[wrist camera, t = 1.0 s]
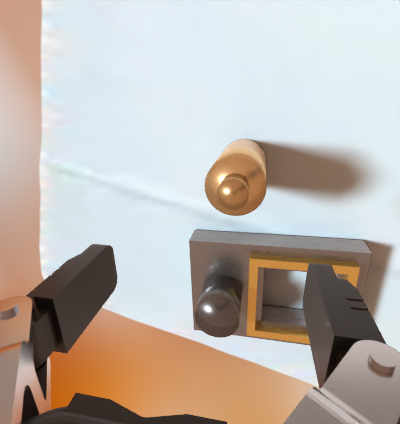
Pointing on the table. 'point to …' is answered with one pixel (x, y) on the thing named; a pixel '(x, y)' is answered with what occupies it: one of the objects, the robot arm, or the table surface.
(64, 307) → the robot arm
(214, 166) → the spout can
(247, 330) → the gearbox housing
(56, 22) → the table surface
